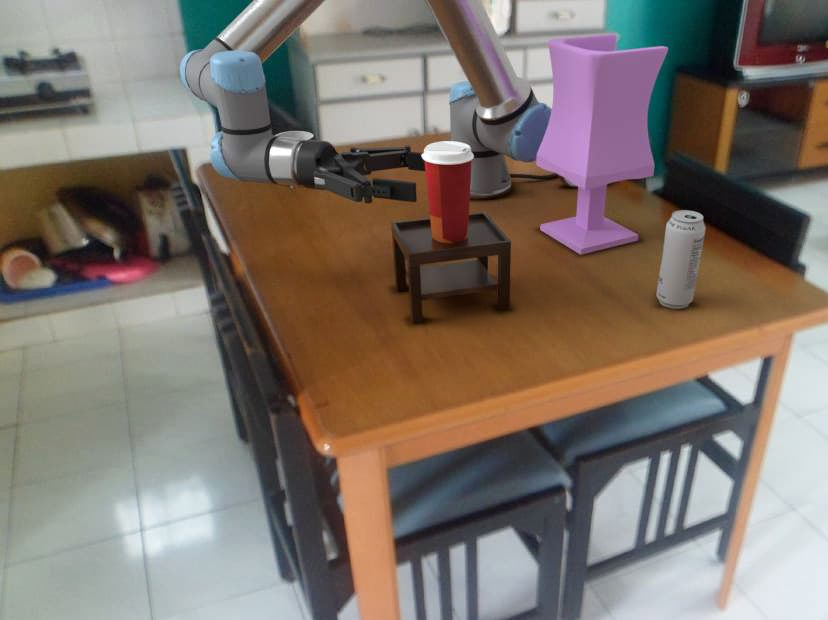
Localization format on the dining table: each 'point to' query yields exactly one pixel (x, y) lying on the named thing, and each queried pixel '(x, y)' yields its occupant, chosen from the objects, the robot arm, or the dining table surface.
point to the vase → (598, 131)
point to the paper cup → (448, 189)
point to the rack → (455, 277)
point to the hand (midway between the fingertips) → (432, 177)
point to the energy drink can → (680, 259)
